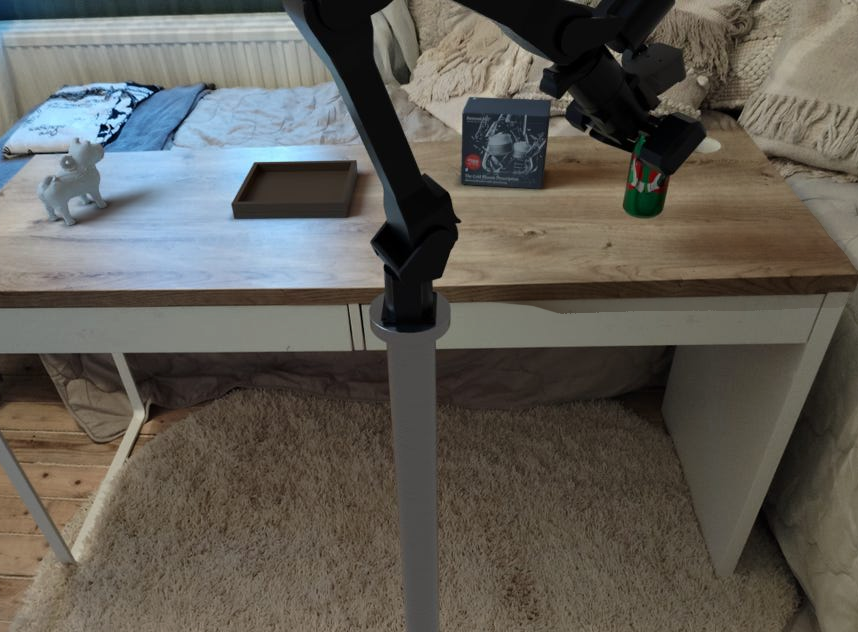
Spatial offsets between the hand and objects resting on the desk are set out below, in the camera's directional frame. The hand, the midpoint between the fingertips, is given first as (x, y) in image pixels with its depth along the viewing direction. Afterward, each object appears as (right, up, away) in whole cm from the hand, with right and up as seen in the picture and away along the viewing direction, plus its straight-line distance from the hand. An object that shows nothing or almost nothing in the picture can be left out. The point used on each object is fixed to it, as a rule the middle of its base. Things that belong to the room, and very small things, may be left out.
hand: (660, 161), depth 88 cm
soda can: (-1, -6, +4) cm, 7 cm away
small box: (-15, +5, +27) cm, 31 cm away
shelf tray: (-48, +2, +26) cm, 55 cm away
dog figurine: (-84, 0, +27) cm, 88 cm away
